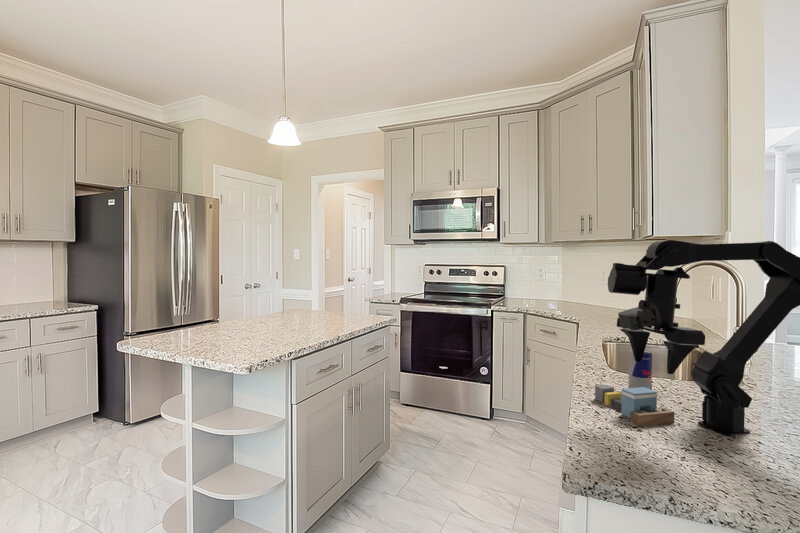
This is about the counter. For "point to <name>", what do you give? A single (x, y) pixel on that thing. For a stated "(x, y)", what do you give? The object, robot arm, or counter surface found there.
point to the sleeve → (638, 400)
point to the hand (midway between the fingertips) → (653, 367)
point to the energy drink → (640, 371)
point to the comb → (652, 417)
